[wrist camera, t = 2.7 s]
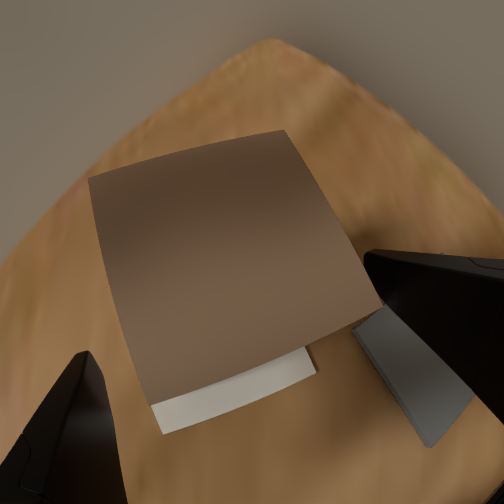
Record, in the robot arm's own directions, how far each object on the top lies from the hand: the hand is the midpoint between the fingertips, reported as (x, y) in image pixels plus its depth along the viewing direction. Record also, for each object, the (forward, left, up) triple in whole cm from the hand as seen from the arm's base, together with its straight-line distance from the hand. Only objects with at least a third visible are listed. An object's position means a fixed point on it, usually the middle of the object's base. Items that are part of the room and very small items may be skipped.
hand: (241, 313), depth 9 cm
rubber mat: (-8, -12, -9) cm, 17 cm away
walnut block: (+1, 0, -8) cm, 9 cm away
